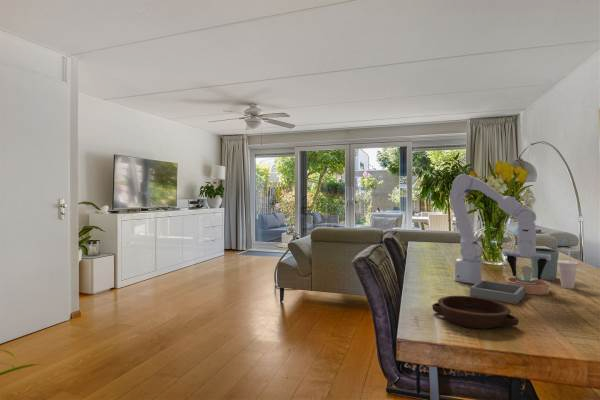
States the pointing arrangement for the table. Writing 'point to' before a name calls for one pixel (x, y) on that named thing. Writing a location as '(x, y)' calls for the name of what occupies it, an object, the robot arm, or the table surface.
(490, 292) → the gray square frame
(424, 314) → the table surface
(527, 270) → the pacifier
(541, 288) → the bowl
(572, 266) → the smoothie
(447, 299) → the dish
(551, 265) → the grey green pot
